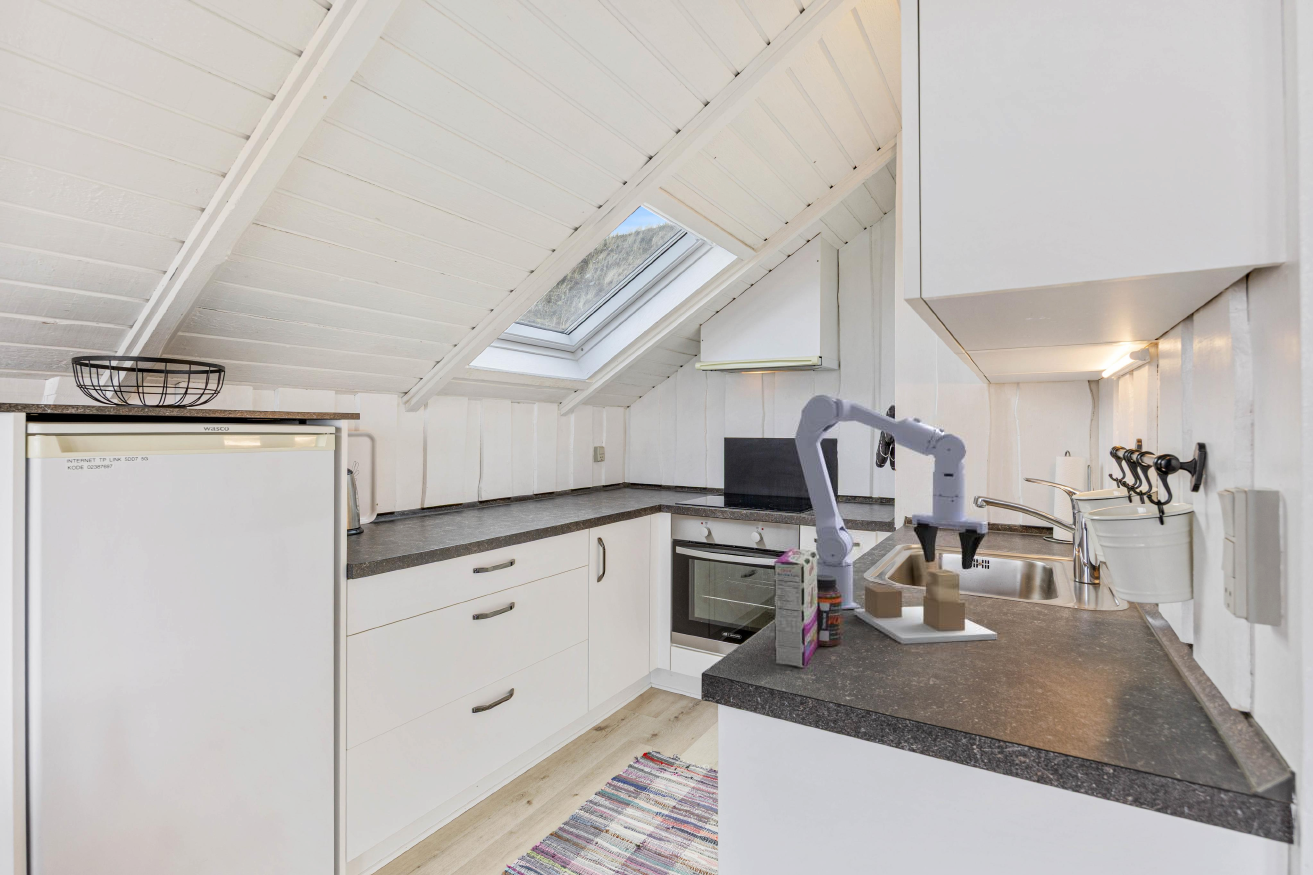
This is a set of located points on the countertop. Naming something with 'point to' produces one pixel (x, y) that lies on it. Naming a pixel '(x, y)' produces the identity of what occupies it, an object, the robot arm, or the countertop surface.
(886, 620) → the tray with cubes
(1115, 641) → the countertop surface
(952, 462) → the robot arm
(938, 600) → the block
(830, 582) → the supplement bottle
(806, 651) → the candy bar box
